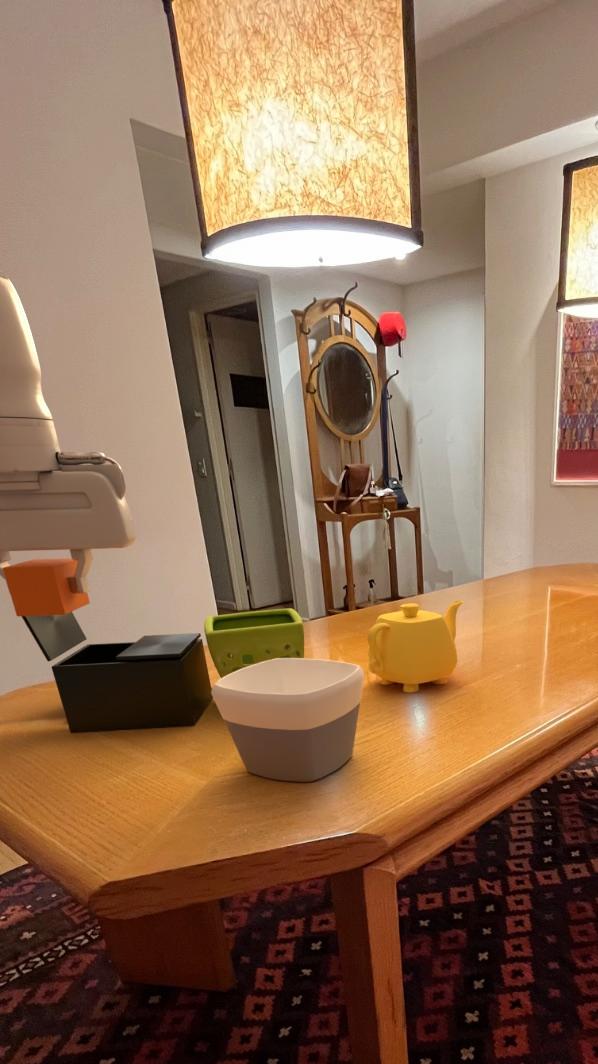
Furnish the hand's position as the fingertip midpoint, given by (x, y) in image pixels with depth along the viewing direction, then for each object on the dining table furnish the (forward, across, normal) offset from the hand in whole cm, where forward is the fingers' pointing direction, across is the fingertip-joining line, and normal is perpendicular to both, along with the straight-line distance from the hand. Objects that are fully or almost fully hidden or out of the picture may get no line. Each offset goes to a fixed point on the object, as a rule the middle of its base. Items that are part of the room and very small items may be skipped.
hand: (50, 593), depth 75 cm
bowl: (+21, -26, +3) cm, 33 cm away
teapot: (+20, -42, -30) cm, 56 cm away
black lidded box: (+21, 0, -20) cm, 28 cm away
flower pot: (+21, -17, -24) cm, 36 cm away
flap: (+6, +9, -19) cm, 22 cm away
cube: (+2, 0, 0) cm, 2 cm away
